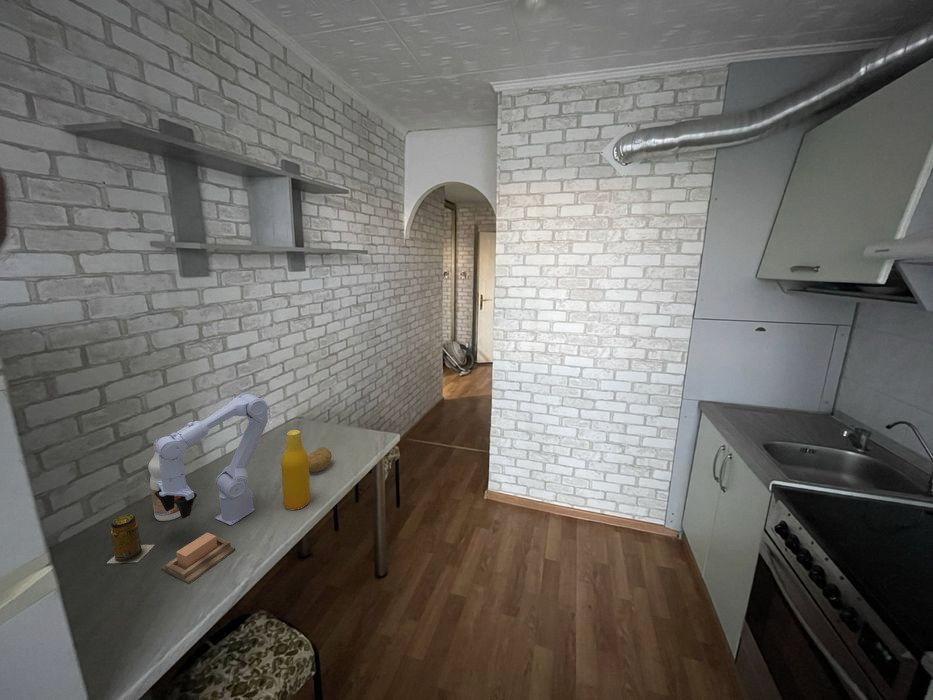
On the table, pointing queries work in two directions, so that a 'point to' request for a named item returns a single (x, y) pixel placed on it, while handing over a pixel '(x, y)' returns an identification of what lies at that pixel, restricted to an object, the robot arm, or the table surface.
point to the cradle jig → (200, 562)
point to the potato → (319, 459)
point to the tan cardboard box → (196, 550)
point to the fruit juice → (156, 477)
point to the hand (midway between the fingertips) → (178, 512)
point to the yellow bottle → (295, 472)
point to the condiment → (127, 541)
